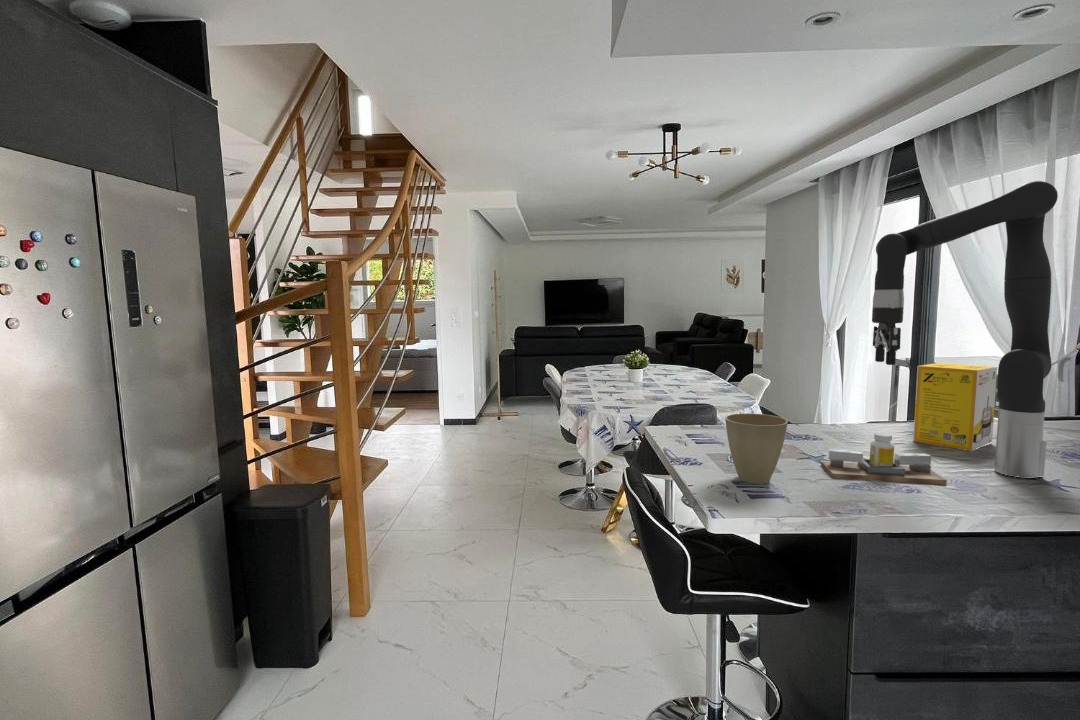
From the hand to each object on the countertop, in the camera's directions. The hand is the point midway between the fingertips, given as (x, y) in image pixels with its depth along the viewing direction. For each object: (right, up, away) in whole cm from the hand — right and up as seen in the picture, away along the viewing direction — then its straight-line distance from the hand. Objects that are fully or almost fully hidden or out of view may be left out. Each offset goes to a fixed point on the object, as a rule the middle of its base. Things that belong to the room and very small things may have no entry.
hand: (884, 363), depth 163 cm
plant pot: (-43, -30, -16) cm, 55 cm away
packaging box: (+36, -26, +23) cm, 50 cm away
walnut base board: (-8, -29, -12) cm, 33 cm away
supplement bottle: (-8, -28, -12) cm, 32 cm away
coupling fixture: (-8, -28, -12) cm, 32 cm away
